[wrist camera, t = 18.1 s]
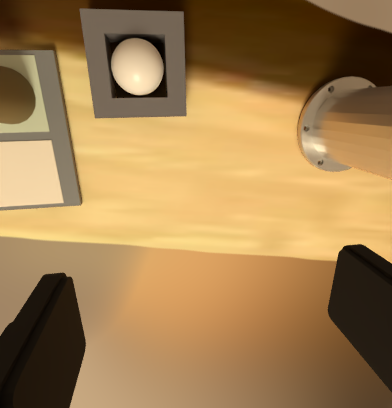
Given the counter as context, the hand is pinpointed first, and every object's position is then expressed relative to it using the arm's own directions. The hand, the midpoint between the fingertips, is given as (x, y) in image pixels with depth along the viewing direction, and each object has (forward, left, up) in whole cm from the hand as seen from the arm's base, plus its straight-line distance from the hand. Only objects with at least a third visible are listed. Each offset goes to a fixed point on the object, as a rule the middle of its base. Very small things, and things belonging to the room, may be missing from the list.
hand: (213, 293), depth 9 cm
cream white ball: (+3, -10, -28) cm, 30 cm away
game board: (+18, -3, -28) cm, 34 cm away
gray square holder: (+3, -10, -28) cm, 30 cm away
